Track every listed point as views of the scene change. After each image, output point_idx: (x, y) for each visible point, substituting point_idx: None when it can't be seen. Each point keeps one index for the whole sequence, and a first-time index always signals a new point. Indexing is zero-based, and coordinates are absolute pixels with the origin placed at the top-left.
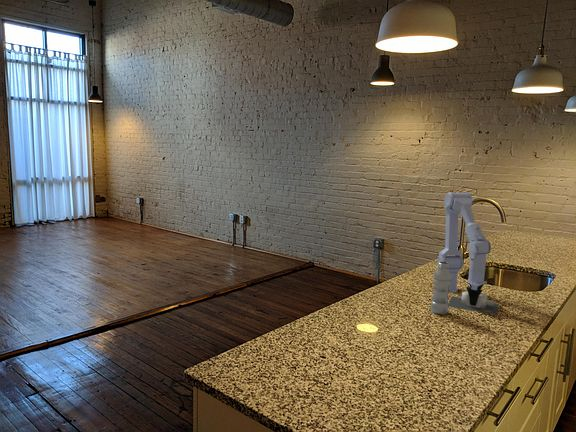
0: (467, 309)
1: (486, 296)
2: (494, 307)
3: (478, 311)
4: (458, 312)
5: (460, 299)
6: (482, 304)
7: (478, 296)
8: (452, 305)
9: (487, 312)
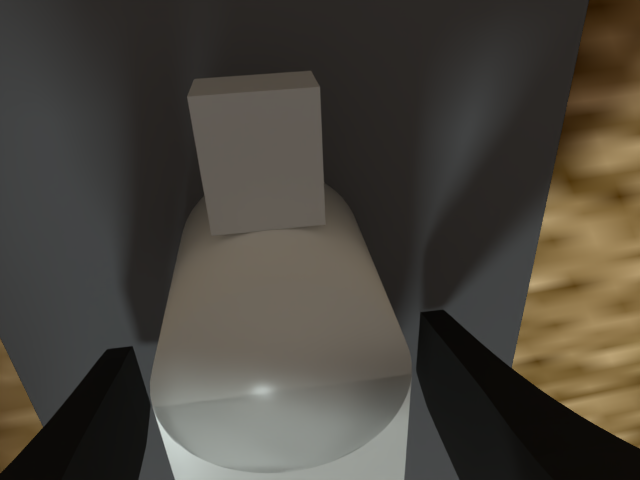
0: (510, 345)
1: (295, 298)
2: (167, 31)
3: (535, 231)
4: (595, 383)
5: (158, 475)
6: (366, 246)
7: (589, 425)
8: (444, 472)
9: (527, 113)
